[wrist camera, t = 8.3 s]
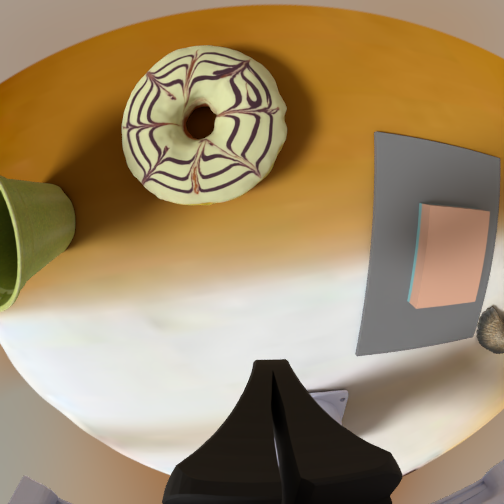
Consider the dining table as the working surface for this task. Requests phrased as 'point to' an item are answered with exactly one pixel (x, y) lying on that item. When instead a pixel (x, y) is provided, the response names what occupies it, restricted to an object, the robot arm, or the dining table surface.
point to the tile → (448, 255)
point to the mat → (405, 234)
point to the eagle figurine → (491, 331)
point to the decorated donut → (219, 141)
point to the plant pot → (30, 232)
